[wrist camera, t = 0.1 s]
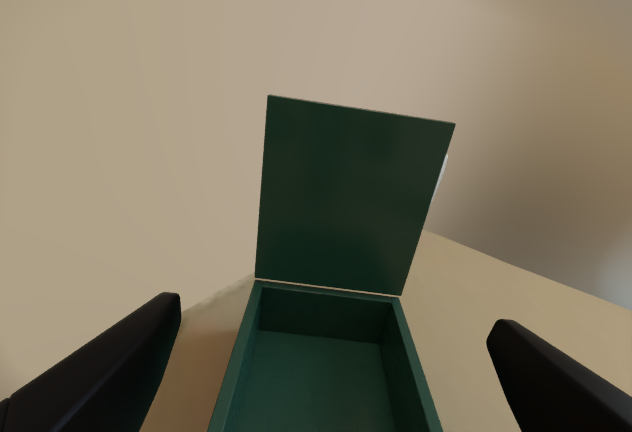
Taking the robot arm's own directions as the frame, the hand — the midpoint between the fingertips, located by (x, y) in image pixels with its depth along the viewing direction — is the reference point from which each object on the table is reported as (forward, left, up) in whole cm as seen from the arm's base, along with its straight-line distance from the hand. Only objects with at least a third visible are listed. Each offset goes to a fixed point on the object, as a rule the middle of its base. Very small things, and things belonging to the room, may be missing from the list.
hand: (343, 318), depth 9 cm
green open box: (+8, -2, -17) cm, 18 cm away
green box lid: (+14, -2, -3) cm, 15 cm away
